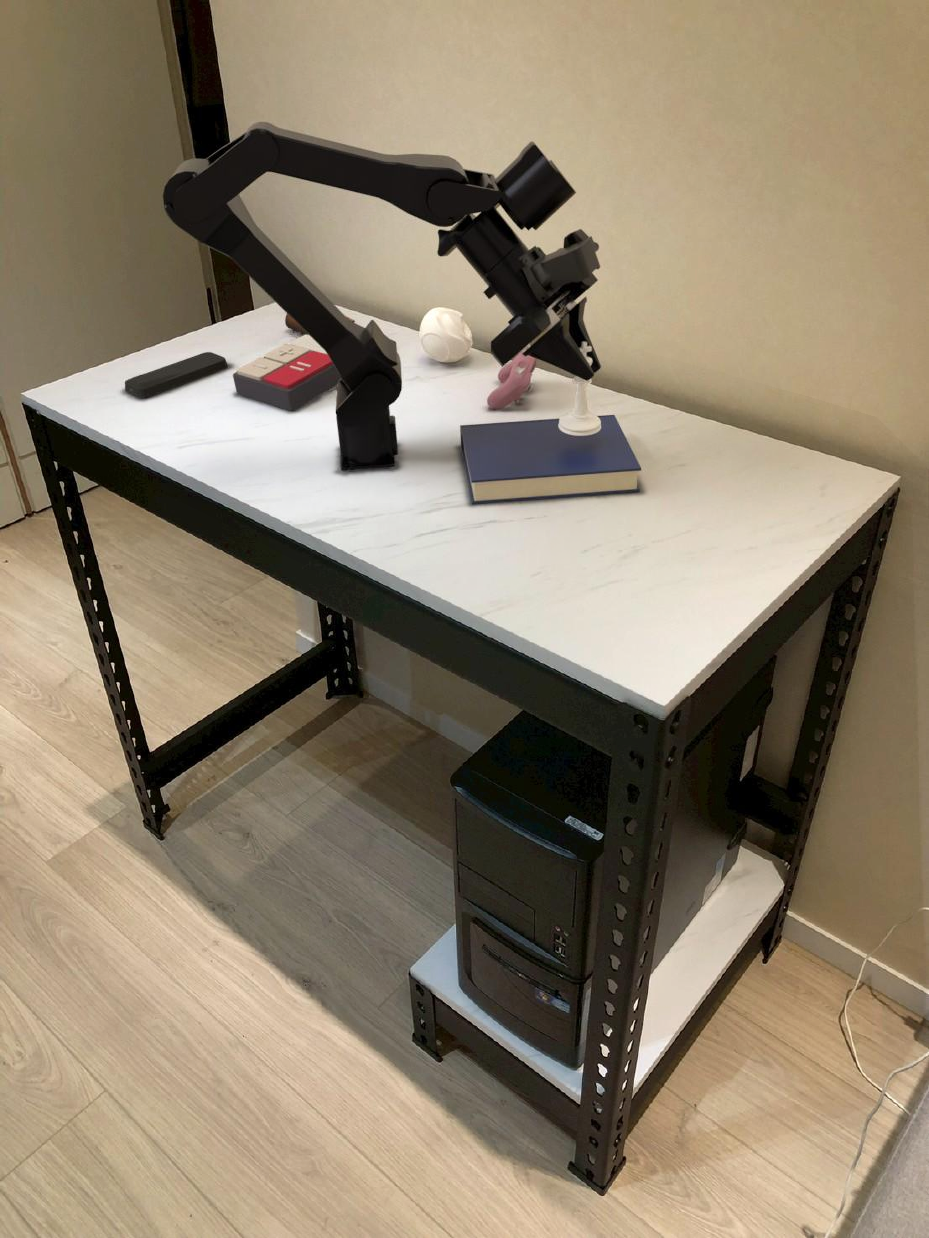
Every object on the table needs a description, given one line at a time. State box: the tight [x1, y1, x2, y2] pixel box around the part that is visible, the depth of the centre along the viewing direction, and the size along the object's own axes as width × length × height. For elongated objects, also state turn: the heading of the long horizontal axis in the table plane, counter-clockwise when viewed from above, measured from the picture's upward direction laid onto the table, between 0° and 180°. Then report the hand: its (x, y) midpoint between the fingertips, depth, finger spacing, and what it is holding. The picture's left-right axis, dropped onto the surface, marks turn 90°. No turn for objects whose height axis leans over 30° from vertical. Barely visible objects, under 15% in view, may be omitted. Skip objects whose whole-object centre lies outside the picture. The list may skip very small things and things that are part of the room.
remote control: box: [124, 351, 228, 399], centre depth 140 cm, size 5×2×15 cm
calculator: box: [232, 334, 341, 412], centre depth 137 cm, size 11×4×15 cm
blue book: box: [459, 414, 642, 505], centre depth 115 cm, size 19×14×3 cm
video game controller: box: [486, 348, 539, 410], centre depth 131 cm, size 10×5×7 cm, turn 168°
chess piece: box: [558, 341, 601, 436], centre depth 110 cm, size 5×5×10 cm
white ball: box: [418, 307, 473, 364], centre depth 141 cm, size 8×8×8 cm
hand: (594, 374), depth 108 cm, fingers closed on chess piece
